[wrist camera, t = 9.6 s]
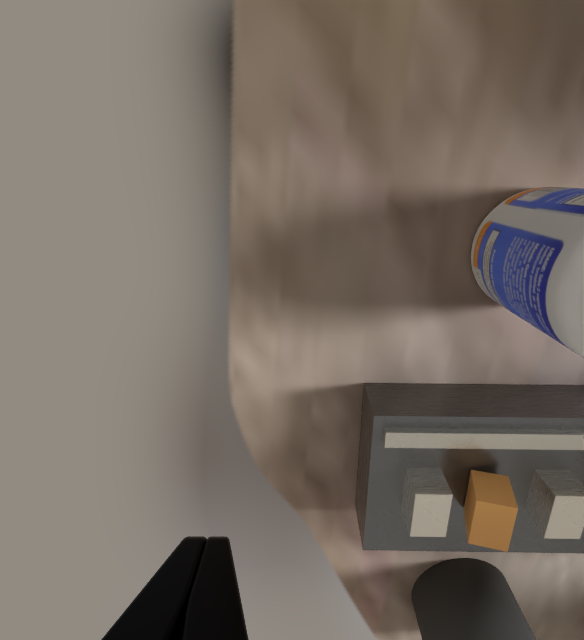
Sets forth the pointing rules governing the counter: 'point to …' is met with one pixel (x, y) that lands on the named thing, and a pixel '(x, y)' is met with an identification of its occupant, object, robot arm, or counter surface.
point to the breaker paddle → (490, 510)
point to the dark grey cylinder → (467, 603)
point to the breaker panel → (470, 463)
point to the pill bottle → (536, 260)
